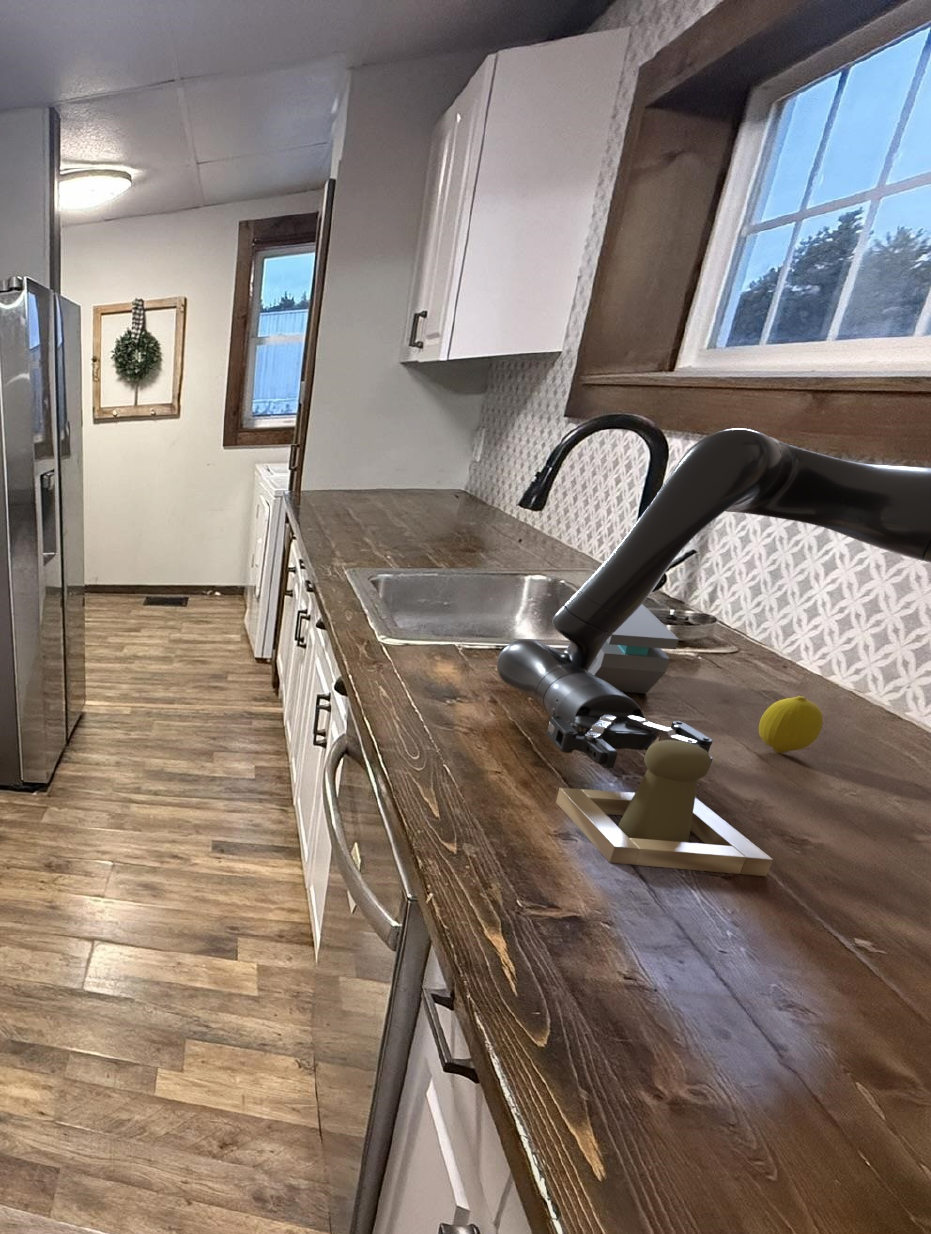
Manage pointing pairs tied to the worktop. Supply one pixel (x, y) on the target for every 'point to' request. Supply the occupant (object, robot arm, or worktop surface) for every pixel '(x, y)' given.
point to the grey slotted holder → (635, 653)
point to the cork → (666, 792)
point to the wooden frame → (716, 855)
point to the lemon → (790, 724)
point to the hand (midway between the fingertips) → (657, 763)
